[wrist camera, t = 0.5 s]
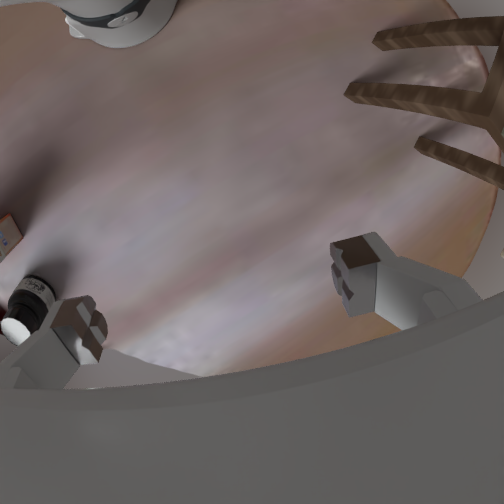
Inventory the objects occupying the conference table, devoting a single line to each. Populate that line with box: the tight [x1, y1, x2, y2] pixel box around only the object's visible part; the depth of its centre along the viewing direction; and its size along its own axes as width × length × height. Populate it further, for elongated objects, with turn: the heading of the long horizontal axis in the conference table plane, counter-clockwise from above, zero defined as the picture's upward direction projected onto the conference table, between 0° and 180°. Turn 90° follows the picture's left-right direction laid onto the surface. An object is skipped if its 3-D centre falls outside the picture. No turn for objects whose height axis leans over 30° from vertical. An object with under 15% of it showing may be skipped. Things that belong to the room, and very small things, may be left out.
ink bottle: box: [1, 276, 56, 346], centre depth 46 cm, size 10×9×12 cm
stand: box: [344, 16, 504, 190], centre depth 33 cm, size 14×20×30 cm
